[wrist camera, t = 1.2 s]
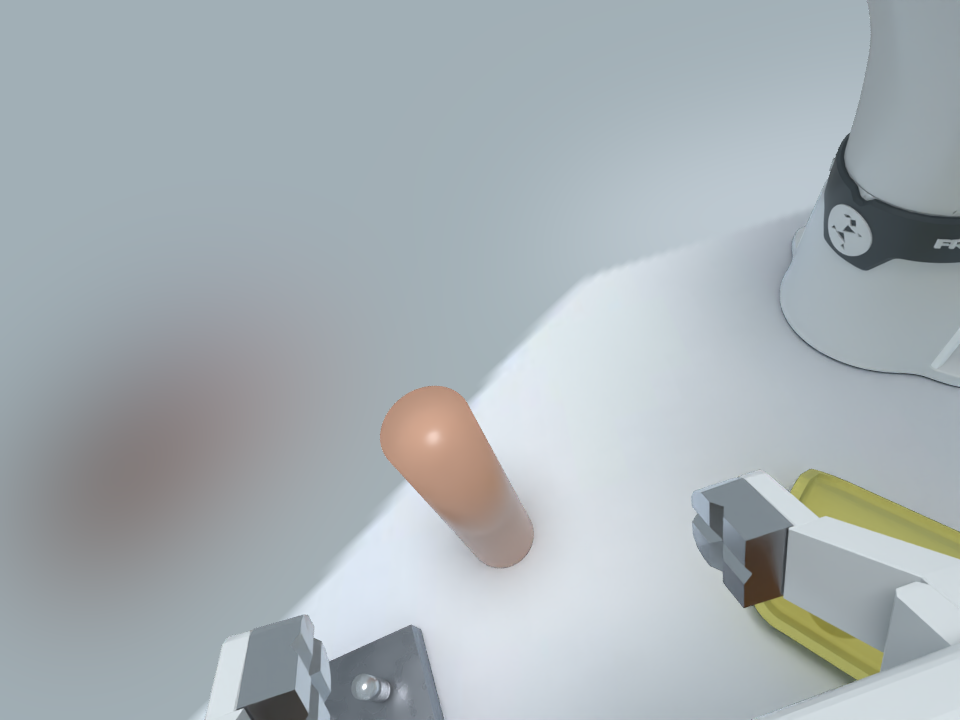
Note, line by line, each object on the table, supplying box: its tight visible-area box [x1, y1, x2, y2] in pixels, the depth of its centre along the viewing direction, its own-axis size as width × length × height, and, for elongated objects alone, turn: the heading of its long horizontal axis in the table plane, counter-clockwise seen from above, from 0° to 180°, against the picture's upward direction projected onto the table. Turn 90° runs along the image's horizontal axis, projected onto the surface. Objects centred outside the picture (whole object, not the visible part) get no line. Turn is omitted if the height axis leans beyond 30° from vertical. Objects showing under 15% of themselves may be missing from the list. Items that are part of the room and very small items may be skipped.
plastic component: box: [754, 469, 960, 680], centre depth 32 cm, size 20×7×10 cm
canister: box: [380, 386, 533, 568], centre depth 36 cm, size 5×5×18 cm
